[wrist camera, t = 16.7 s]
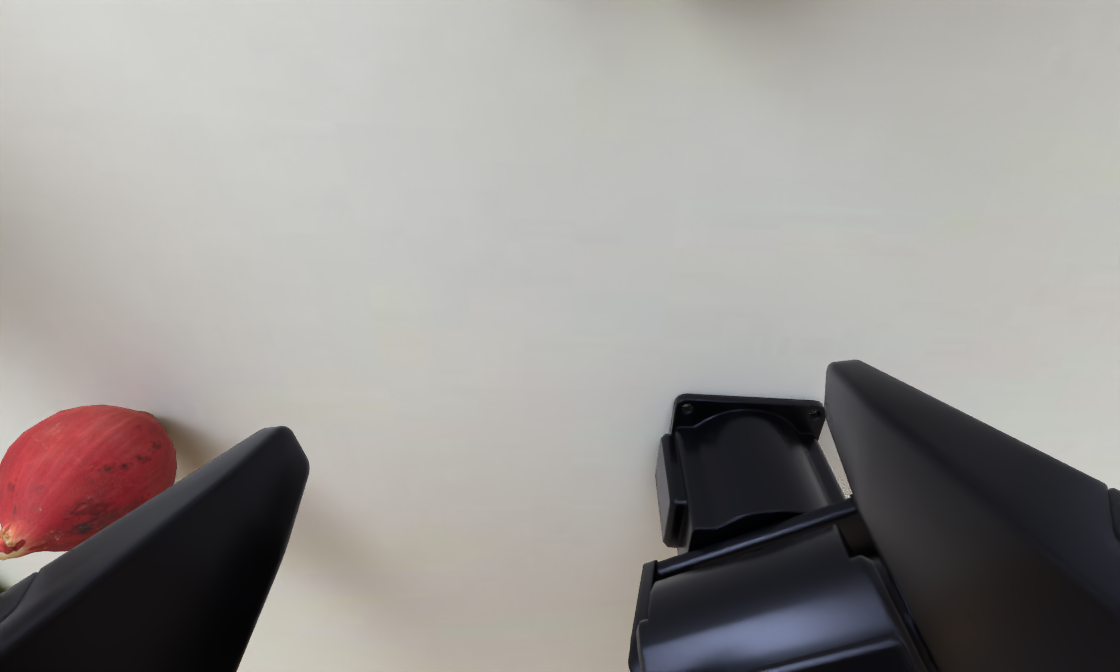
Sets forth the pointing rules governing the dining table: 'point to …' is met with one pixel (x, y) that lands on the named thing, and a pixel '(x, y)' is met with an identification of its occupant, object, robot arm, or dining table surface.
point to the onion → (80, 476)
